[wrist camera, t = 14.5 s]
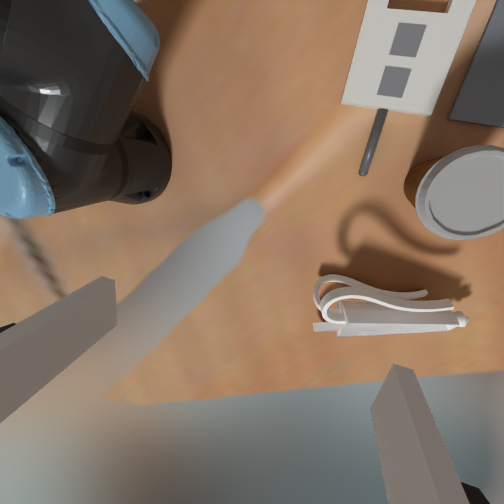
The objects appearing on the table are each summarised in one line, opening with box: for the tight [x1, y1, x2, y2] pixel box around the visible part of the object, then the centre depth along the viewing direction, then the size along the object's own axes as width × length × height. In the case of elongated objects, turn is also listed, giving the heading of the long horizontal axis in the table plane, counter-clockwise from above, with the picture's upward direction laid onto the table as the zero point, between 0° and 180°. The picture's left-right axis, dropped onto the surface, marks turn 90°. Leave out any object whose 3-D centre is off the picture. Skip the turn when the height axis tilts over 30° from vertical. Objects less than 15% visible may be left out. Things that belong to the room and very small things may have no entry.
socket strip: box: [341, 0, 476, 176], centre depth 32 cm, size 27×11×2 cm, turn 171°
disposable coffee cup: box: [404, 145, 504, 240], centre depth 31 cm, size 10×10×12 cm
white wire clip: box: [313, 274, 469, 337], centre depth 41 cm, size 17×9×22 cm
